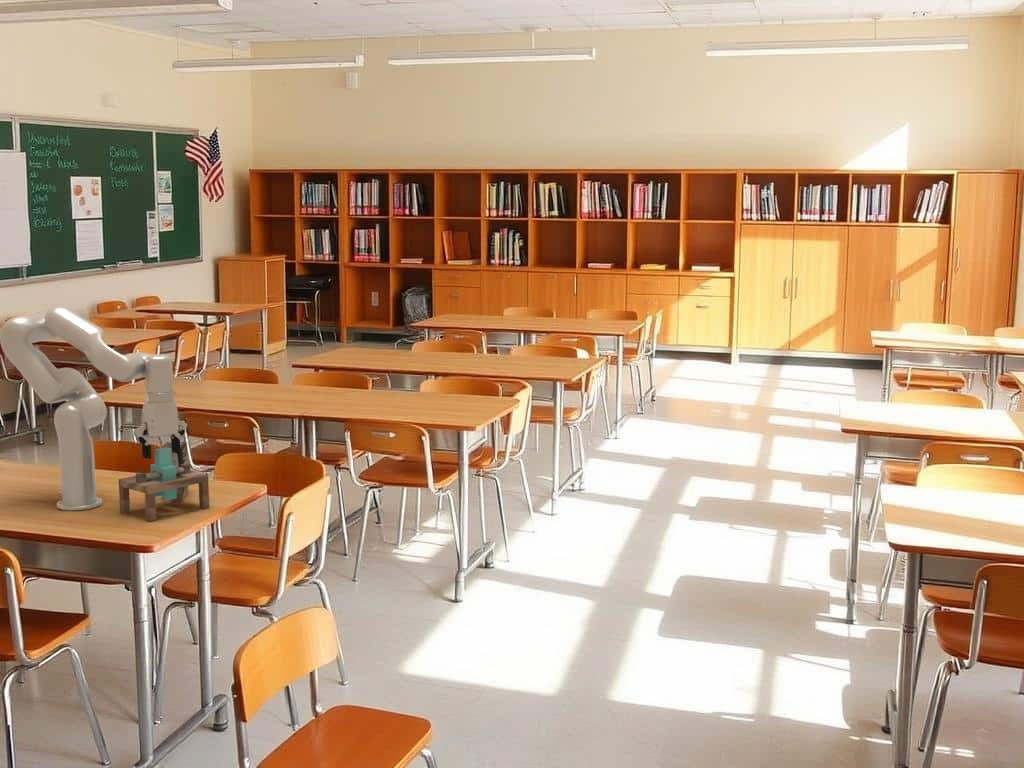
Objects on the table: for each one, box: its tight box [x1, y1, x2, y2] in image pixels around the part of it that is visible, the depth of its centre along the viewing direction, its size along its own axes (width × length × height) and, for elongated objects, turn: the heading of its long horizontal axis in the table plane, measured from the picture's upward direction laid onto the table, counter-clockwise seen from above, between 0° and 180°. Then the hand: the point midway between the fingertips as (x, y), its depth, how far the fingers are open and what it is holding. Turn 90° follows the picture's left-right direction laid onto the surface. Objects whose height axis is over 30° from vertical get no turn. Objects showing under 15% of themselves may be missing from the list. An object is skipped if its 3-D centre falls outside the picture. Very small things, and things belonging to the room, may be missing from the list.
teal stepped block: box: [149, 447, 177, 502], centre depth 331 cm, size 7×4×15 cm, turn 51°
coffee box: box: [160, 441, 190, 500], centre depth 348 cm, size 9×6×16 cm
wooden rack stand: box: [118, 463, 210, 523], centre depth 331 cm, size 15×20×12 cm
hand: (161, 455), depth 330 cm, fingers open, 9 cm apart
